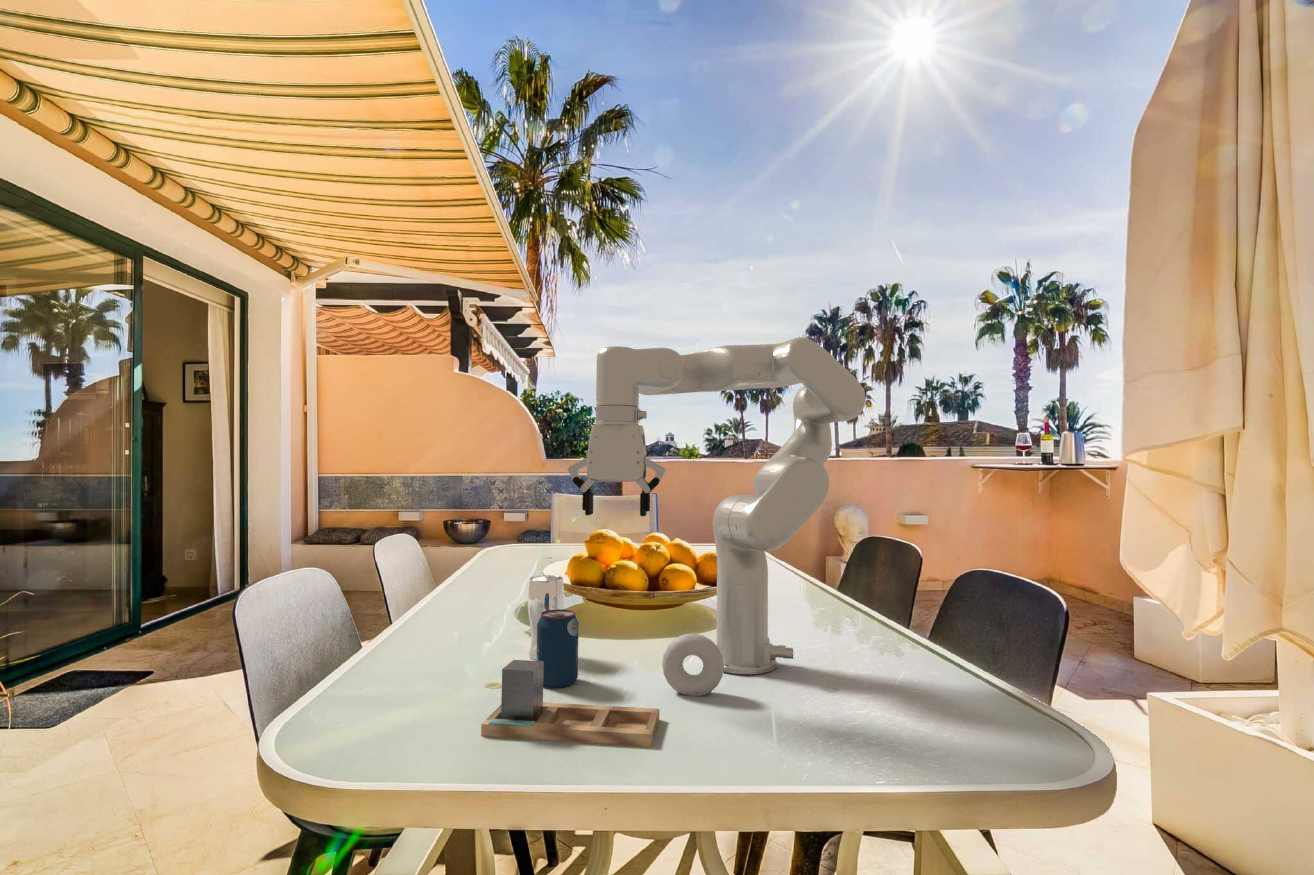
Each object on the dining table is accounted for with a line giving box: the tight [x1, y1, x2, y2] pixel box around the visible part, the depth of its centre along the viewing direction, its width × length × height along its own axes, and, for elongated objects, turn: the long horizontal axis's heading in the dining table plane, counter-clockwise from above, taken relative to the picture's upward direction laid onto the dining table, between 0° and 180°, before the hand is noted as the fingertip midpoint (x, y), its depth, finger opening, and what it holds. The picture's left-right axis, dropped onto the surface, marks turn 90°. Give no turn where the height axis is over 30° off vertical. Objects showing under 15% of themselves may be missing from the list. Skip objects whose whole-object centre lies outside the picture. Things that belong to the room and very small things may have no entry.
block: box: [500, 659, 544, 723], centre depth 90 cm, size 4×4×8 cm
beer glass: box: [527, 574, 565, 660], centre depth 124 cm, size 7×7×15 cm
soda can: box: [535, 608, 580, 689], centre depth 108 cm, size 7×7×12 cm
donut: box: [661, 632, 724, 697], centre depth 103 cm, size 10×3×10 cm, turn 82°
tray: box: [480, 701, 661, 748], centre depth 89 cm, size 23×9×2 cm, turn 83°
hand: (616, 515), depth 112 cm, fingers open, 9 cm apart
